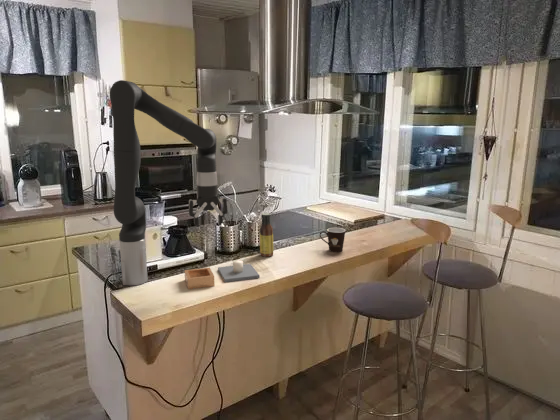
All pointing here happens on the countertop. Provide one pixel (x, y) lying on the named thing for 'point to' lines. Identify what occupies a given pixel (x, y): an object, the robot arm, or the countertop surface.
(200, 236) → the countertop surface
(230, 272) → the post base
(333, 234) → the coffee mug
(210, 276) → the brown wooden open box
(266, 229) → the sauce bottle
